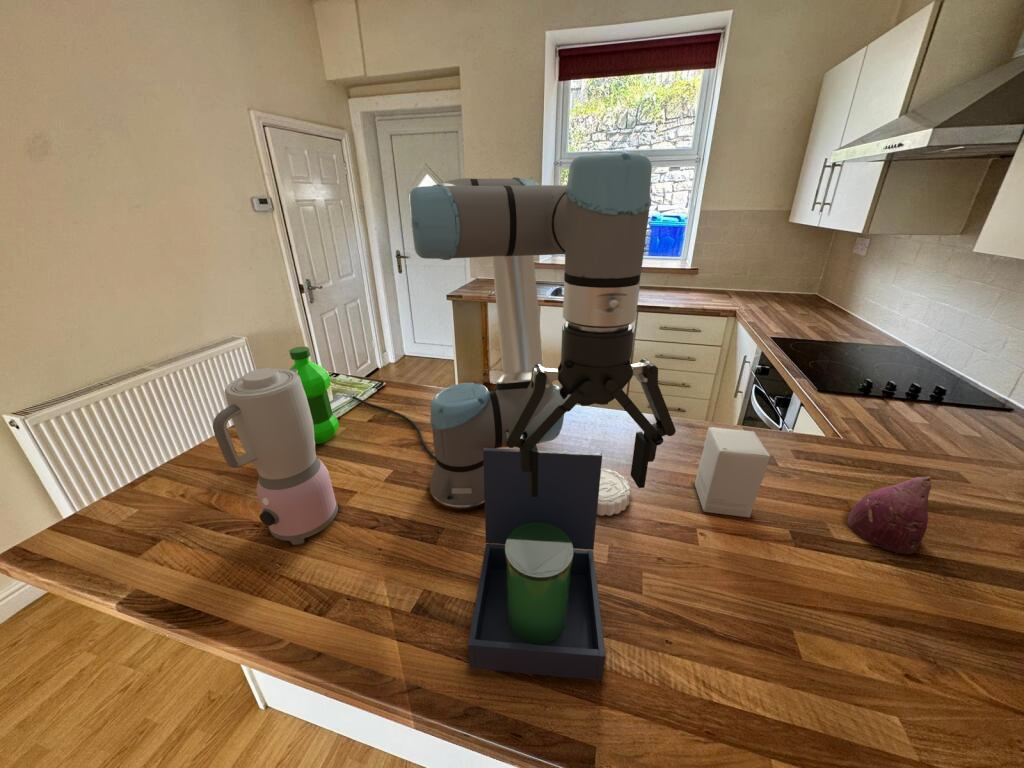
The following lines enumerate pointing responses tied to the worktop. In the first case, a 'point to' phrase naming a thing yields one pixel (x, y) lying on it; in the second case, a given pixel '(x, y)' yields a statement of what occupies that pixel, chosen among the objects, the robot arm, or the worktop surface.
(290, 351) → the plastic bottle
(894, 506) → the vegetable
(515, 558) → the green pot
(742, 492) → the rectangular carton
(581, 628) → the chest
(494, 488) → the chest lid
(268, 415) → the blender
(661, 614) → the worktop surface
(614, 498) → the mooncake
